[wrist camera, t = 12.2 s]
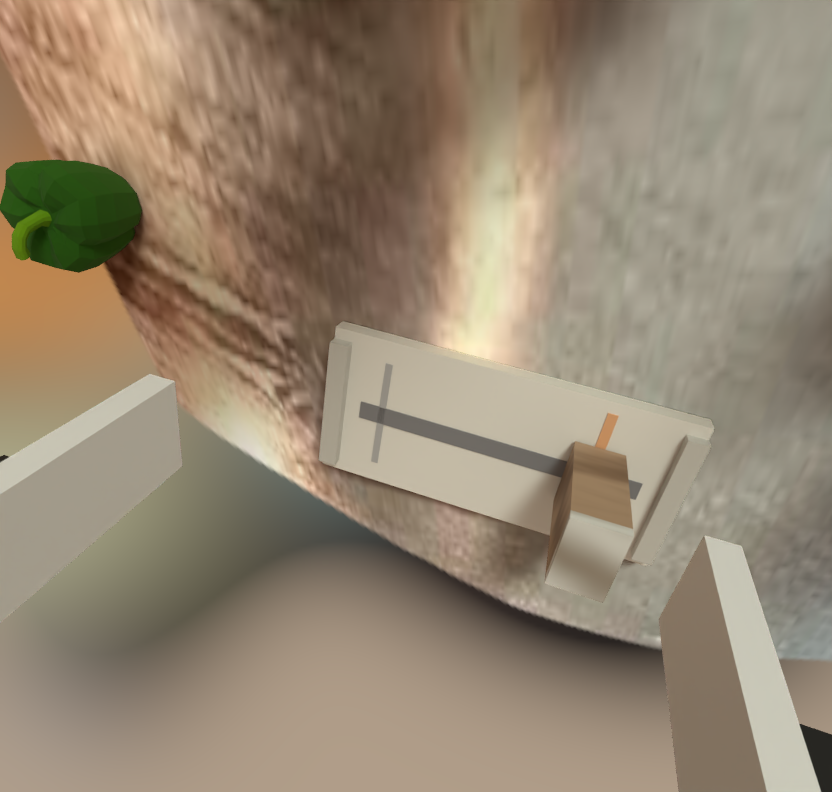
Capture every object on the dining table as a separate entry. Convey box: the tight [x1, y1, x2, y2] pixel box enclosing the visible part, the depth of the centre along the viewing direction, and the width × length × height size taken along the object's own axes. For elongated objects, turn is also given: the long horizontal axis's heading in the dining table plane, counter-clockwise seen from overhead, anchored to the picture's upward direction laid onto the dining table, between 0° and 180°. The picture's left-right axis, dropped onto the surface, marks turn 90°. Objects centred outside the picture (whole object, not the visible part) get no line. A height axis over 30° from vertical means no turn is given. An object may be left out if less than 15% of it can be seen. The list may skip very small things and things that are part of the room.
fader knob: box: [545, 441, 634, 603], centre depth 41 cm, size 6×4×10 cm, turn 170°
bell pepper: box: [0, 160, 142, 272], centre depth 44 cm, size 8×8×10 cm
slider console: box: [319, 321, 714, 566], centre depth 47 cm, size 14×30×2 cm, turn 80°
